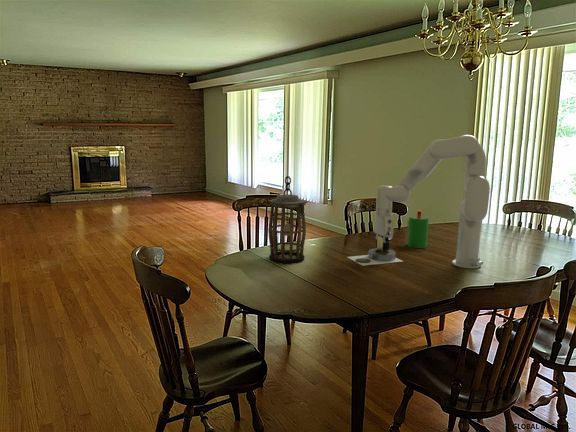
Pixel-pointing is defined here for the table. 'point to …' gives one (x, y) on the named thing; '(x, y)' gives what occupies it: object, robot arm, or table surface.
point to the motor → (418, 231)
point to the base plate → (370, 260)
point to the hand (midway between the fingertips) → (382, 248)
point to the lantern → (287, 228)
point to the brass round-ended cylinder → (380, 245)
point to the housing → (382, 255)
